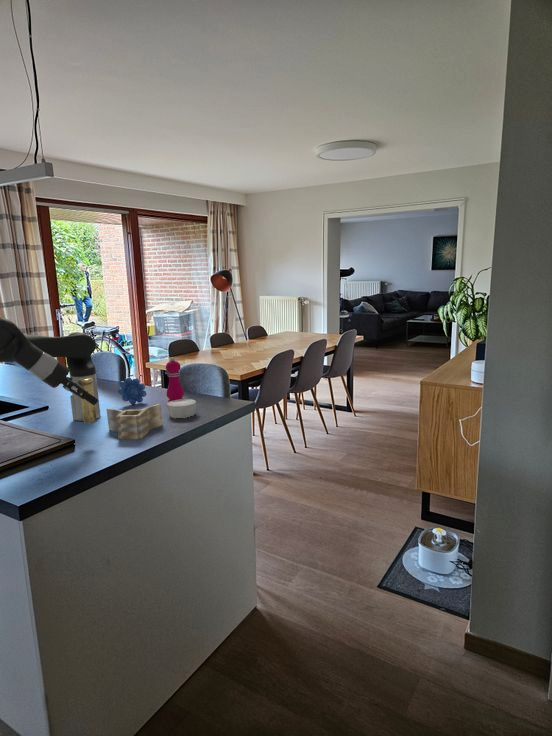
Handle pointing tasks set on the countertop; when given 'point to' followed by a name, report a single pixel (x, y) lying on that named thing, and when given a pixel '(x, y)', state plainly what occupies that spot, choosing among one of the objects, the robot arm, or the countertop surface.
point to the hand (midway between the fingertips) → (94, 401)
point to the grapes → (132, 390)
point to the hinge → (134, 421)
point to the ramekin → (181, 408)
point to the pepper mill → (174, 381)
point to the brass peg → (87, 407)
